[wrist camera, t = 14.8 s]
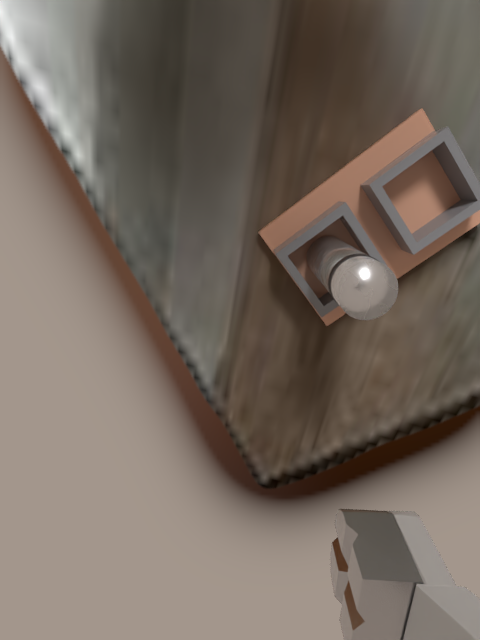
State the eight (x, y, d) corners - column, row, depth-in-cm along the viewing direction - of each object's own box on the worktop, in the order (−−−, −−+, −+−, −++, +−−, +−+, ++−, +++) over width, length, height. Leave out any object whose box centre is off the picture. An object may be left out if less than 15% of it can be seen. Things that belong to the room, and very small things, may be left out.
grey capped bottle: (297, 252, 40) (324, 285, 27) (332, 226, 39) (378, 247, 26) (321, 285, 41) (357, 332, 28) (355, 260, 40) (410, 297, 27)
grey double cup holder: (258, 231, 41) (259, 236, 37) (416, 110, 37) (437, 101, 33) (324, 322, 44) (332, 336, 40) (478, 218, 40) (503, 221, 36)
